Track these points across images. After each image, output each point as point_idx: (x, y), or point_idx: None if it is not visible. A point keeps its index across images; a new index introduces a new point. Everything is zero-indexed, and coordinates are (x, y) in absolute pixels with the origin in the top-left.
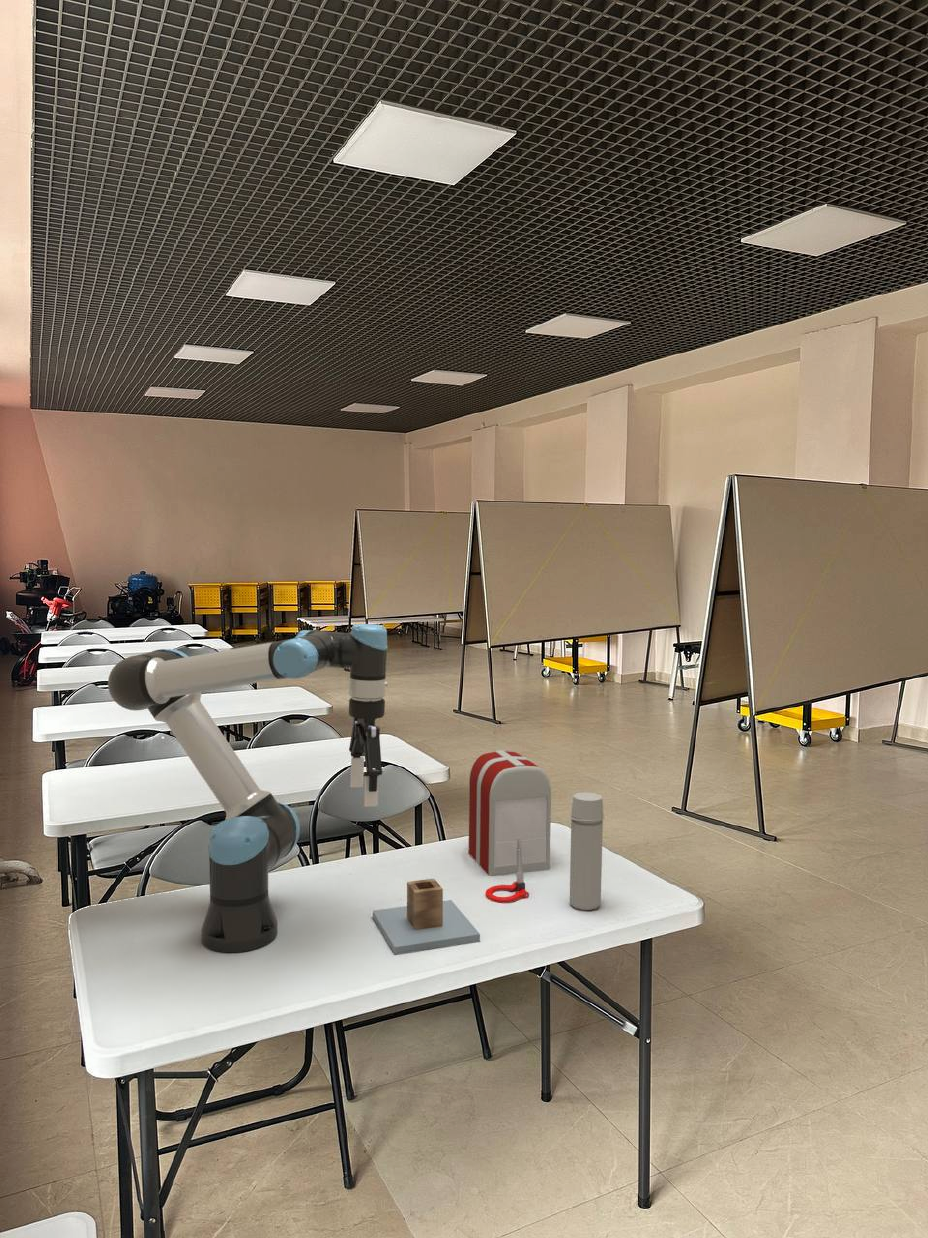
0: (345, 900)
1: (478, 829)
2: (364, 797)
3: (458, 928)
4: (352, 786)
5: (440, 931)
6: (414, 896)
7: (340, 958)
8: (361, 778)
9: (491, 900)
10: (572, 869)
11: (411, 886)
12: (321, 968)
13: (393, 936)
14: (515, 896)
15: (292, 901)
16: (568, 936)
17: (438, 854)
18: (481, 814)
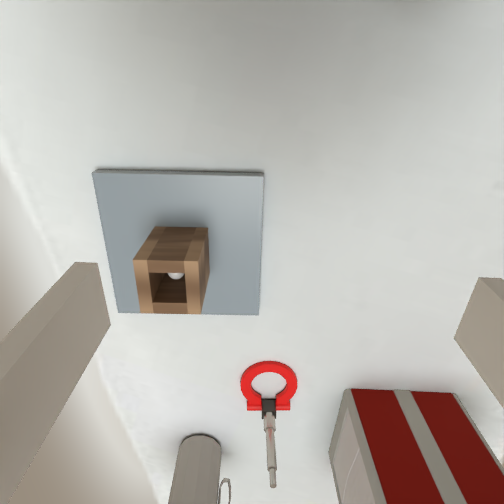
0: (368, 140)
1: (425, 447)
2: (68, 293)
3: None
4: (479, 289)
5: None
6: (139, 255)
7: (98, 59)
8: (488, 370)
9: (256, 363)
10: (190, 489)
11: (168, 262)
12: (59, 4)
13: (136, 183)
14: (245, 393)
15: (427, 8)
16: (115, 401)
17: None
18: (428, 483)
